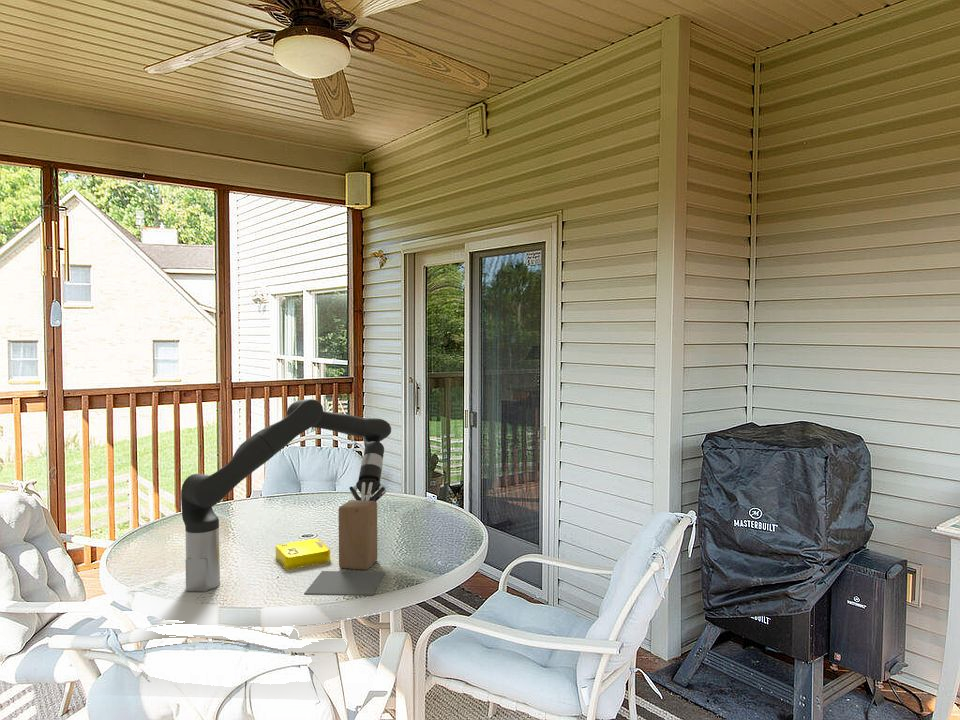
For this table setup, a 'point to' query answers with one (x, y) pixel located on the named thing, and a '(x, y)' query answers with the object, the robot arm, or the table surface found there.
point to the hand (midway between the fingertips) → (363, 512)
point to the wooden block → (357, 534)
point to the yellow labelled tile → (302, 553)
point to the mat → (345, 583)
